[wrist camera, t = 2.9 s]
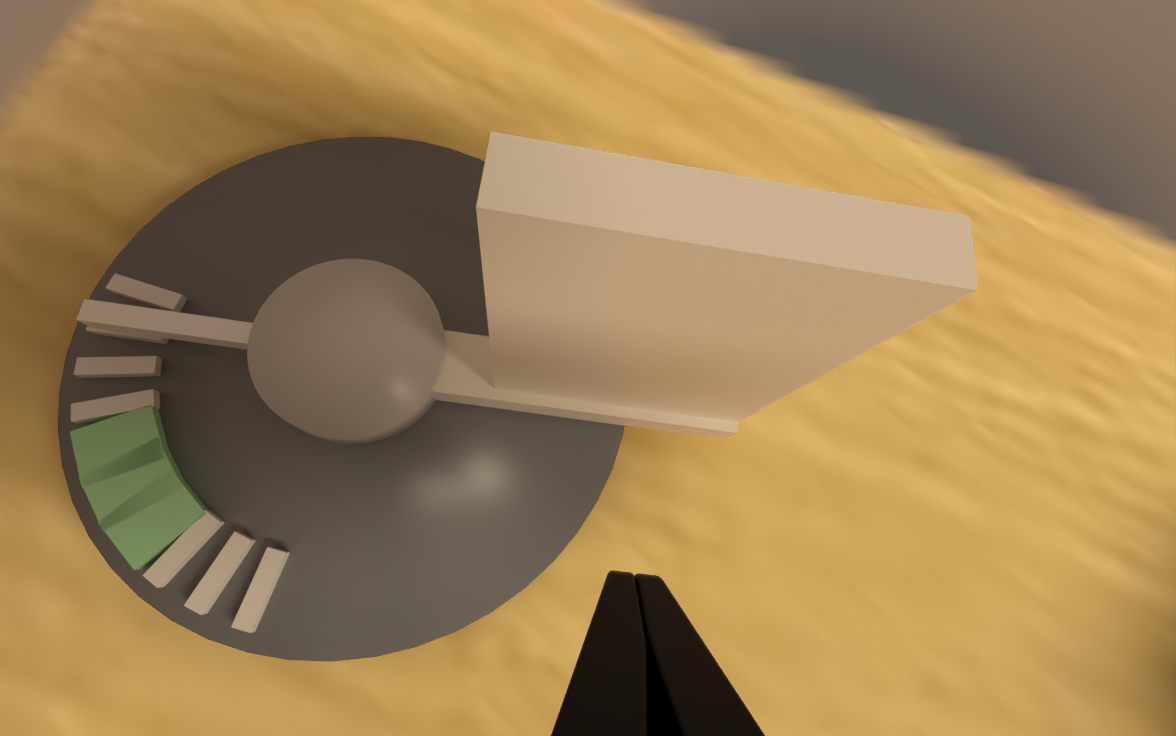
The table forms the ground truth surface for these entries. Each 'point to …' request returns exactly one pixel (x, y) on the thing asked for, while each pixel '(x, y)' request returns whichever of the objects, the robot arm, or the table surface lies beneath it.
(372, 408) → the rotary selector knob
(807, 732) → the table surface
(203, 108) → the table surface
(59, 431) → the tuner dial
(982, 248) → the table surface
